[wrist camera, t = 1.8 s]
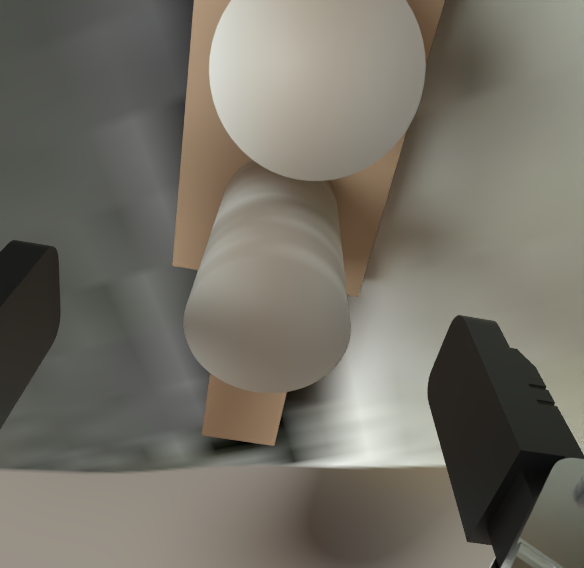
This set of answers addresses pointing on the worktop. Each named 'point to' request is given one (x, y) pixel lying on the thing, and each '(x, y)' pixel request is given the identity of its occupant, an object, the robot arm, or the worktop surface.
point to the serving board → (287, 186)
